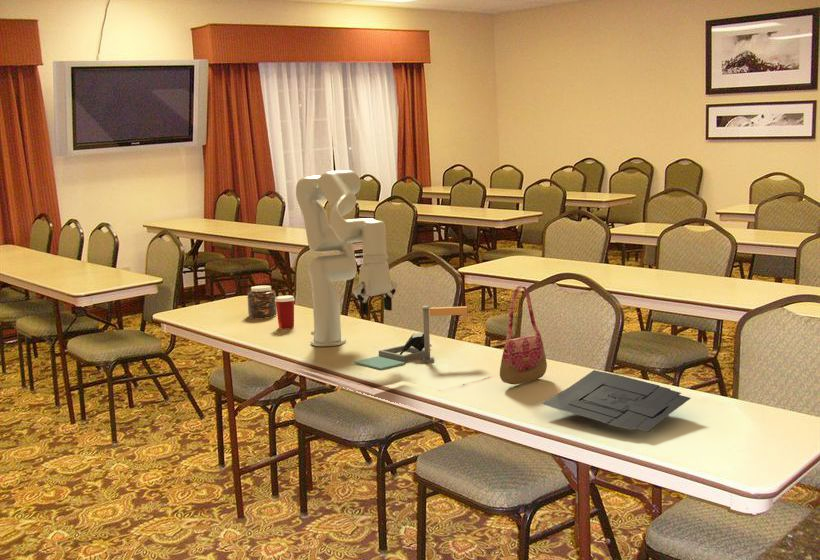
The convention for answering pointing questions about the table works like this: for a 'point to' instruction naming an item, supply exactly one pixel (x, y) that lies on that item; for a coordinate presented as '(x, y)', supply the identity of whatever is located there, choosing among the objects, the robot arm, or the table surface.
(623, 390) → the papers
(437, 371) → the table surface
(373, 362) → the mat
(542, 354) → the shoulder bag
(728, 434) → the table surface
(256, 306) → the jar
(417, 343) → the power plug
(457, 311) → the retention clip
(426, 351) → the plug dock
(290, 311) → the paper cup
